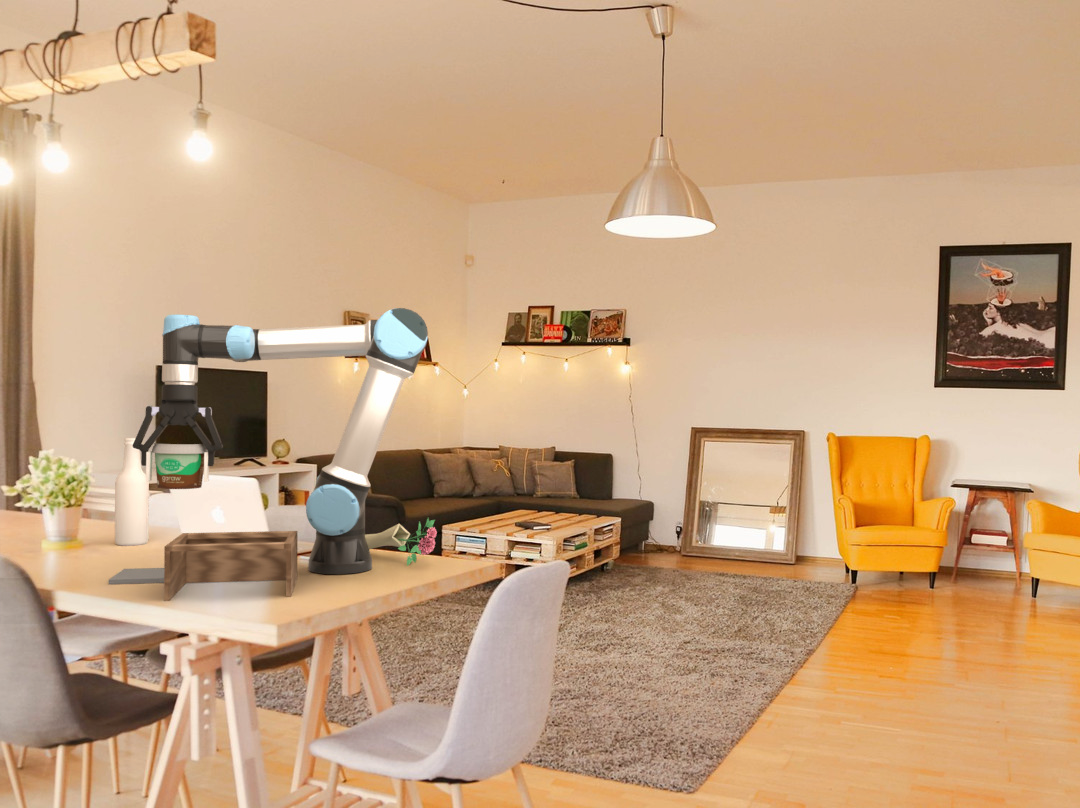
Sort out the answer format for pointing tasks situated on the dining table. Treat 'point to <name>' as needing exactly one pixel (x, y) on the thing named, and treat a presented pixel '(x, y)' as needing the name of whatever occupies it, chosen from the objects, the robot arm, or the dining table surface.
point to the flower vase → (404, 539)
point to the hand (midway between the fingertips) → (177, 480)
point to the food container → (179, 465)
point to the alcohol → (131, 500)
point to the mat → (138, 576)
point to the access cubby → (230, 558)
